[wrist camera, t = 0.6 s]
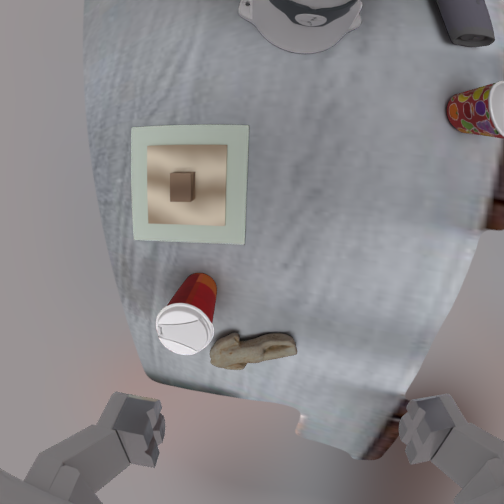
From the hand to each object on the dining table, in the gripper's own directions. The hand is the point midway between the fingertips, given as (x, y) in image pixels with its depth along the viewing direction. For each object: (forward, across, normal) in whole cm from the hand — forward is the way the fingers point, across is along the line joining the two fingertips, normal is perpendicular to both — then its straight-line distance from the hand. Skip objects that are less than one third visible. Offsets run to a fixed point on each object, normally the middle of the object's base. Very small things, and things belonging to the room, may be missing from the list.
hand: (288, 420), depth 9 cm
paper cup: (+41, +10, +15) cm, 44 cm away
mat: (+40, +12, -2) cm, 42 cm away
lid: (+40, +12, -2) cm, 42 cm away
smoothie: (+41, -32, -18) cm, 55 cm away
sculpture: (+41, +1, +25) cm, 48 cm away
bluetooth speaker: (+41, -30, -42) cm, 66 cm away
